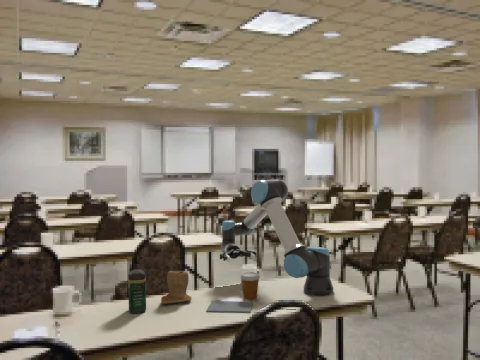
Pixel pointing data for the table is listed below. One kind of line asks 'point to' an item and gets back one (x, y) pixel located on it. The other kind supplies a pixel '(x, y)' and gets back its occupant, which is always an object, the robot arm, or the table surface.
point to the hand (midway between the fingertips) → (242, 258)
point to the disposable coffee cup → (250, 285)
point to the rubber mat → (230, 306)
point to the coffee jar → (137, 291)
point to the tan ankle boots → (176, 287)
